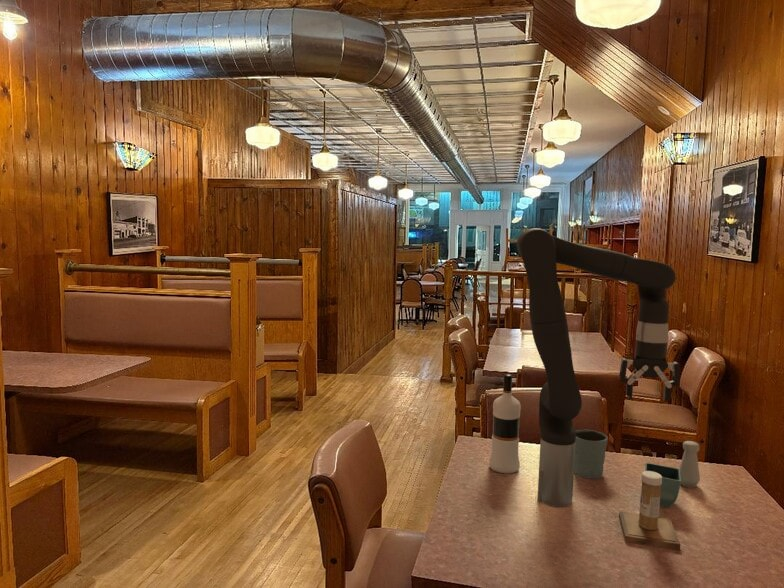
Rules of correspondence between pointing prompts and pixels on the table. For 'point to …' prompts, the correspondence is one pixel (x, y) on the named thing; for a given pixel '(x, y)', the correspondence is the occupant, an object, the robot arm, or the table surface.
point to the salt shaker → (690, 465)
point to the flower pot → (667, 483)
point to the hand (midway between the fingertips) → (647, 399)
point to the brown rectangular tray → (648, 532)
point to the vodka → (505, 431)
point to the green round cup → (589, 453)
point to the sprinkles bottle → (650, 500)
